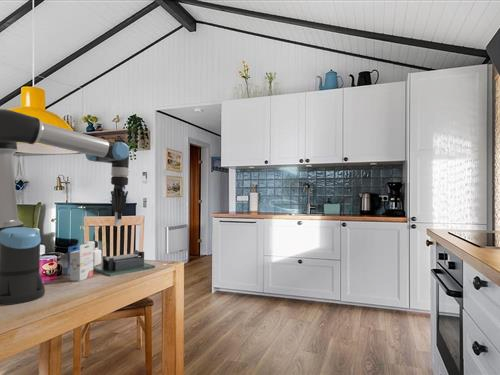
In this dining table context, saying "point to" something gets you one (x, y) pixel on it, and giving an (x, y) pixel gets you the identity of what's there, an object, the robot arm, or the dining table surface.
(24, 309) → the dining table surface
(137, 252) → the steel strap
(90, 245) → the ink cartridge box
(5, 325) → the dining table surface
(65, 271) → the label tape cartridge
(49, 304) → the dining table surface
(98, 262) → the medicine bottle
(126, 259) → the green fixture base plate
